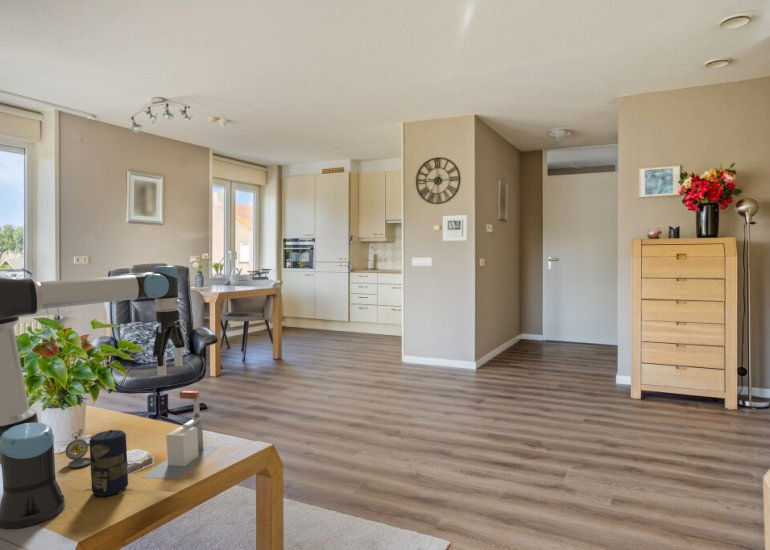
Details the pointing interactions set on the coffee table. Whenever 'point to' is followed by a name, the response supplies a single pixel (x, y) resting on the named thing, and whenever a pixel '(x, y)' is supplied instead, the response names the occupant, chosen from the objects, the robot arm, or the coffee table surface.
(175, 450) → the white block
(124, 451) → the canister
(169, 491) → the coffee table surface
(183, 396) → the multicoloured piece
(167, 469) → the gray post stand
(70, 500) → the coffee table surface
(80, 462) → the pocket watch
